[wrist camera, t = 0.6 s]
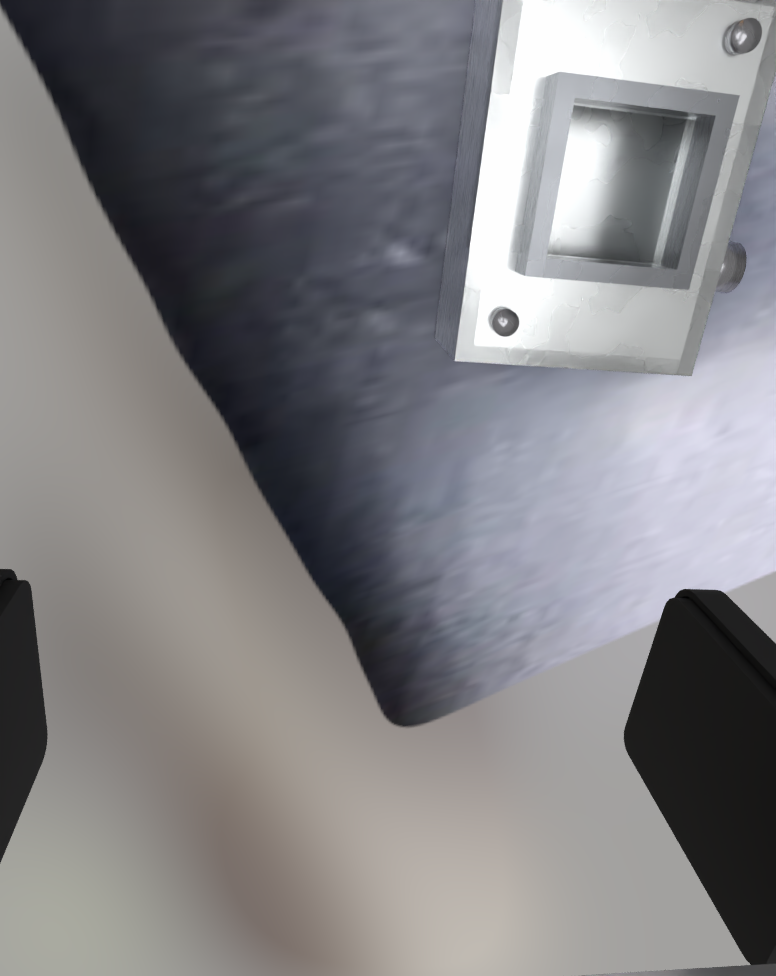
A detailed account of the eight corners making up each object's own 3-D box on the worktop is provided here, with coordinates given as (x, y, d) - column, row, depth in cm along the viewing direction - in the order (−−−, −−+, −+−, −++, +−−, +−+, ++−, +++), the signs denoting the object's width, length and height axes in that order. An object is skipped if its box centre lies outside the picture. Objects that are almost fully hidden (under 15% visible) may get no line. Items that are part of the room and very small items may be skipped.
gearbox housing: (478, -26, 30) (523, -73, 25) (767, 17, 33) (871, -16, 27) (434, 337, 37) (461, 369, 31) (678, 354, 39) (746, 386, 33)
